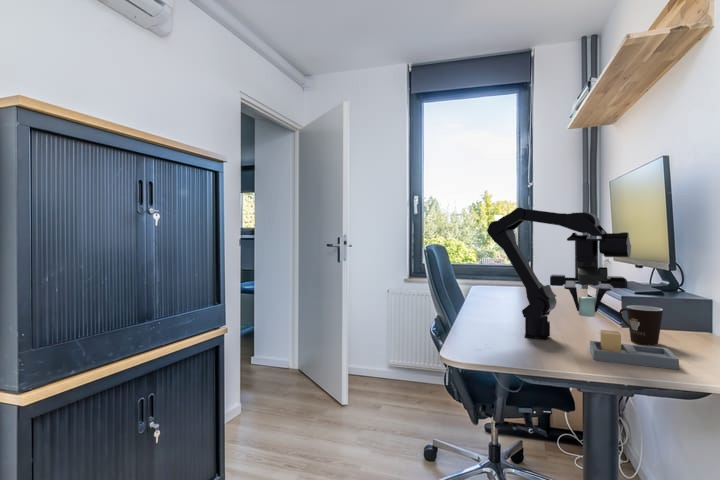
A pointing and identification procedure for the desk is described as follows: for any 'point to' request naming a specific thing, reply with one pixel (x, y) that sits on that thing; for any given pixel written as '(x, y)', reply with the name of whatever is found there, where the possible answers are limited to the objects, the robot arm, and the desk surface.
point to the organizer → (636, 355)
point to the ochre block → (610, 341)
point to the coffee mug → (643, 324)
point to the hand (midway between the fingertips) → (586, 311)
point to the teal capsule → (587, 306)
